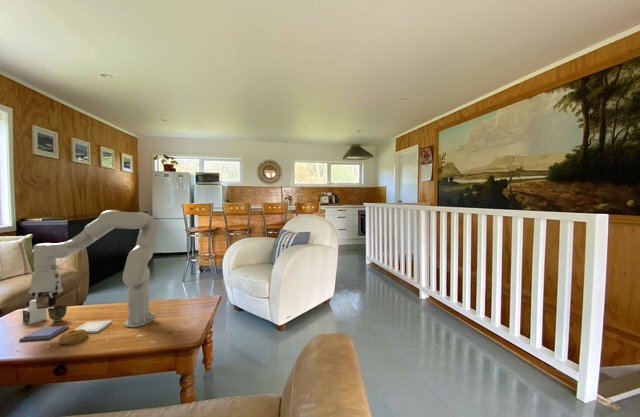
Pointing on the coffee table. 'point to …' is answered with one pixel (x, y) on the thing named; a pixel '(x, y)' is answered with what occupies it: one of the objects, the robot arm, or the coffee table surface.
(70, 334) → the bagel
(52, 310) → the cup
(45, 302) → the stamp
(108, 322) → the board
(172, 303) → the coffee table surface
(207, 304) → the coffee table surface
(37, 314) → the medicine bottle
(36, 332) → the ink pad
